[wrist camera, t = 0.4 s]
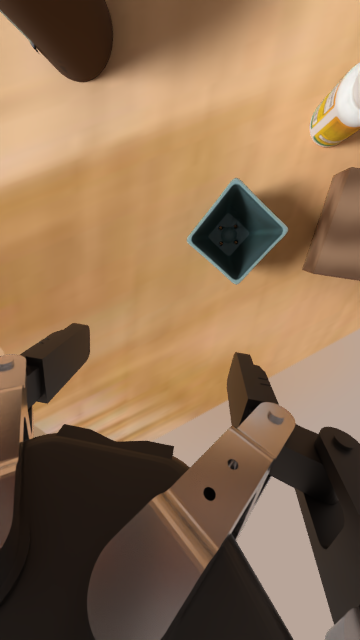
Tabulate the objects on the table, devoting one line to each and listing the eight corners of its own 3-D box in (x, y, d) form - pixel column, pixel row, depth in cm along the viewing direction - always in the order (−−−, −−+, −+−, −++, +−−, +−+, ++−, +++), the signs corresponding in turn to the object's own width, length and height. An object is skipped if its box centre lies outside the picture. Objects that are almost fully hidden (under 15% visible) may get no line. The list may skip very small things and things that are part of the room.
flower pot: (270, 230, 34) (291, 229, 26) (229, 275, 37) (236, 286, 29) (228, 190, 33) (235, 175, 24) (189, 239, 36) (184, 240, 27)
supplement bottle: (303, 113, 29) (346, 58, 20) (347, 87, 28) (416, 16, 19) (314, 157, 30) (359, 124, 21) (357, 134, 29) (424, 89, 20)
